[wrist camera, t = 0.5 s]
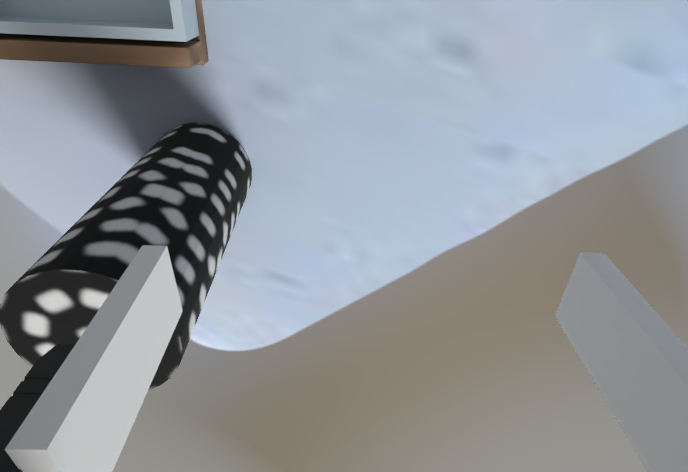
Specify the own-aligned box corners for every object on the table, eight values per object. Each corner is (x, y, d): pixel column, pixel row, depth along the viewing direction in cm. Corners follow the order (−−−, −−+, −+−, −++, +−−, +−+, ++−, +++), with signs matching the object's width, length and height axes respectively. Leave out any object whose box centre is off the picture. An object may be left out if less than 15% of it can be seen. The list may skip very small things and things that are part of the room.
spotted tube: (134, 146, 36) (-43, 306, 19) (218, 106, 35) (104, 243, 18) (191, 223, 40) (85, 410, 24) (269, 191, 39) (215, 368, 22)
